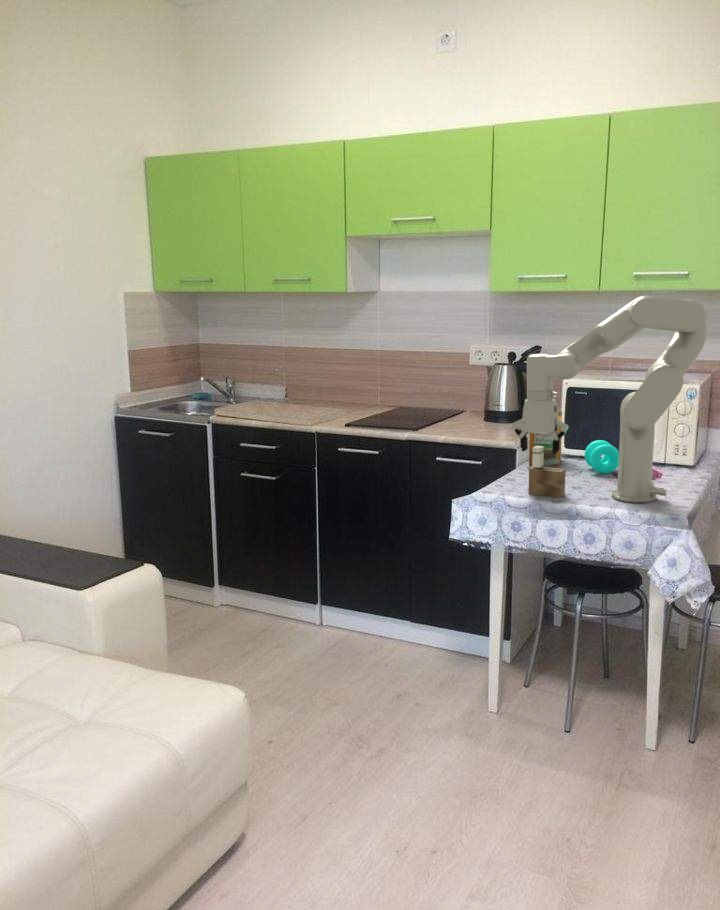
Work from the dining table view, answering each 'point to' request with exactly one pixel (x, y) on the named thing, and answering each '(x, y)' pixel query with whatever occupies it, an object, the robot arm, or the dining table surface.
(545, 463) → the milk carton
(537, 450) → the white lidded box
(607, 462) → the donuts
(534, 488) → the brown wooden block
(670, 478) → the dining table surface
